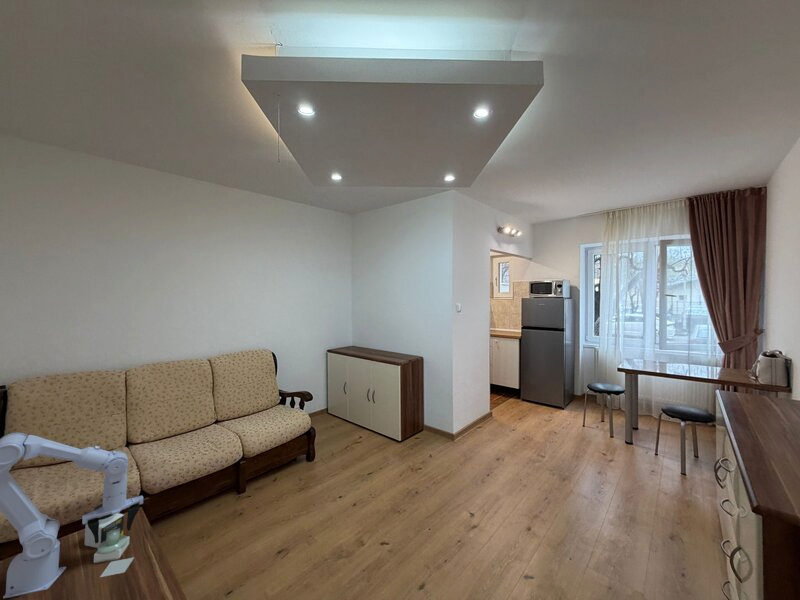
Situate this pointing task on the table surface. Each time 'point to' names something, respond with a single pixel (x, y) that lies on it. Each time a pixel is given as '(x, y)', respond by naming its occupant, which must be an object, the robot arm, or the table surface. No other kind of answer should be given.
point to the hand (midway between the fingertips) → (112, 535)
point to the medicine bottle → (104, 528)
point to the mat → (117, 567)
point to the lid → (112, 542)
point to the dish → (110, 554)
